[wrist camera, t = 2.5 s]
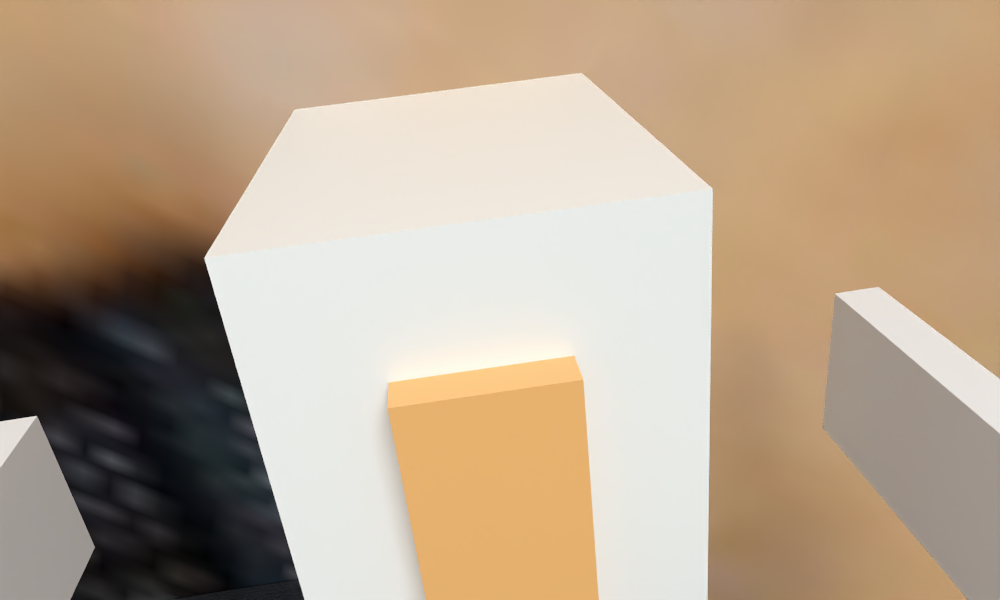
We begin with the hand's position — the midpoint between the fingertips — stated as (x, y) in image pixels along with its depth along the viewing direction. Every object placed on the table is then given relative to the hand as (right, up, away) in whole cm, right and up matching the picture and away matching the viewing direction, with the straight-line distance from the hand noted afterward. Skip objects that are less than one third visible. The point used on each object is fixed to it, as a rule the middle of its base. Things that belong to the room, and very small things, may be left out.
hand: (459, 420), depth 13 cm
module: (0, +2, +5) cm, 6 cm away
